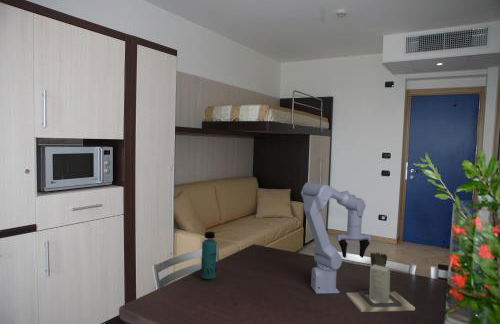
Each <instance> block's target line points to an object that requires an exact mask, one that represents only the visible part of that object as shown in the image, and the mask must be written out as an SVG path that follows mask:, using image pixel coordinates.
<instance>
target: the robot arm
mask: <svg viewBox="0 0 500 324" xmlns="http://www.w3.org/2000/svg"><path fill="white" fill-rule="evenodd" d="M300 195H301V198H302V201H303V210H304V215H305V217H306V220H307V223H308V227H309V228H310V231H311V234H312V237H313V240H314V243H315V248H314V249H313V254H314V255H313V256H314V257H313V258H314V262H315V263H316V267H312V269H311V279H310V281H311V282H310V283H311V284H310V287H311V288H312V290H313V291H314V293H315V294H317V295H318V294H340V290H339V289H337V271H338V270H339V269H340V267H341V266H342V263H343V258H345V259H346V258H347V250H348V249H347V248H348V244H349V243H348V242H347V241H359V242H358V243H359V257H360V258H364V256H365V253H366V251H367V248H368V247H369V245H370V242H371V241H372V235H369V234H362V223H363V220H362V219H363V215H364V213H365V212H364V211H365V210H366V203H365V202H366V201H365V200H364V199H363V198H359V197H357V196H356V195H355V194H352V193H350V191H348V190H344V191H343V190H342V191H339V190H337V189H336V188H334V187H332V186H331V185H328V184H320V183H312V182H305V184H304V185H303V187H302V188H301V192H300ZM330 199H333V200H336V202H337V204H339V205H340V206H342V207H344V208H345V209H346V210H347V227H346V234H337V235H336V241H337V242H338V244H339V245H340V249H341V250H340V251H341V253H342V256H341V254H339V252H338V250H337V248H335V247H334V246H333V245H332V244H331V241H330V238H329V235H328V231H327V229H326V226H325V223H324V220H323V216H322V214H321V210H323V209H324V208H325V207H326V205H327V204H328V202H329V200H330Z"/></svg>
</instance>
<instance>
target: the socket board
mask: <svg viewBox="0 0 500 324" xmlns="http://www.w3.org/2000/svg"><path fill="white" fill-rule="evenodd" d="M369 292H370V290H359V291H357V292H346V297H347V298H348V299H349V300H350V301H351V302H352V303H353V305H355V307H356V308H357V309H358V311H360V312H362V313H369V312H370V313H371V312H373V313H374V312H375V313H376V312H403V311H405V312H407V311H410V312H411V311H415V310H416V307H415V306H414V305H413V304H411V303H410V302H409V301H407V300H406V299H405V298H404V297H403V296H401V295H400V294H399V293H398V292H397V291H390V295H389V301H388V302H387V303H381V302H378V301H374V300H371V299H369Z"/></svg>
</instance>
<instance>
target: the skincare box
mask: <svg viewBox="0 0 500 324" xmlns="http://www.w3.org/2000/svg"><path fill="white" fill-rule="evenodd" d="M390 288H391V267H388V266H385V267H383V266H379V265H373V266H372V265H371V266H369V291H370V292H369V299H371V300H374V301H378V302H381V303H387V302H388V301H389V295H390V292H391V289H390Z"/></svg>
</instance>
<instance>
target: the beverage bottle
mask: <svg viewBox="0 0 500 324" xmlns="http://www.w3.org/2000/svg"><path fill="white" fill-rule="evenodd" d="M204 233H205V234H204V238H205V239H204V240H203V241H202V242H201V244H202V245H201V264H200V265H201V266H200V270H201V271H200V273H201V274H200V276H201V278H203V279H206V280H207V279H208V280H209V279H215V278H216V276H217V266H218V265H217V255H218V254H217V251H218V250H217V248H218V242H217V241H216V240H215V238H216V236H215V232H214V231H206V232H204Z"/></svg>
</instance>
